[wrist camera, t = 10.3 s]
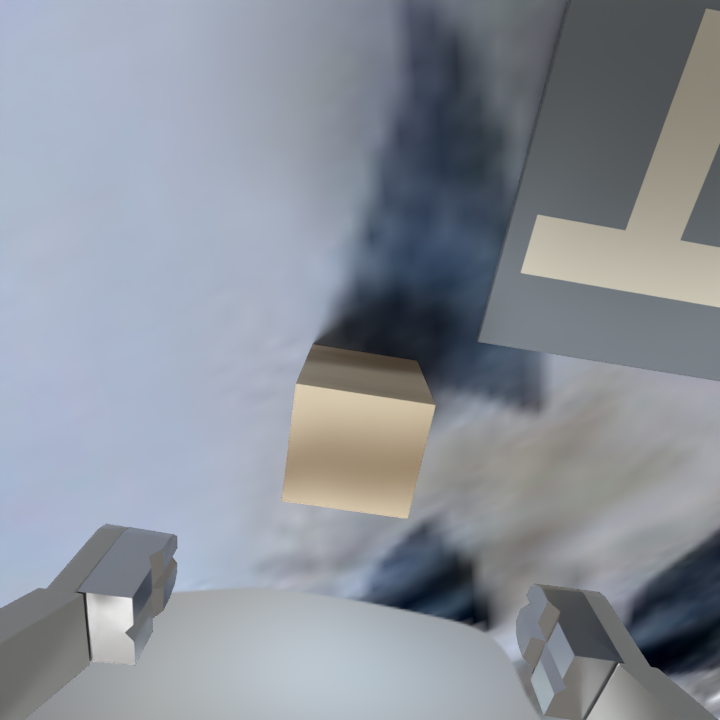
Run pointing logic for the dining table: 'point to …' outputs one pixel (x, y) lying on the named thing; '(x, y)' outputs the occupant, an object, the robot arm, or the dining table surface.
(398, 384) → the birch block
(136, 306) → the dining table surface
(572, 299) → the letter card
